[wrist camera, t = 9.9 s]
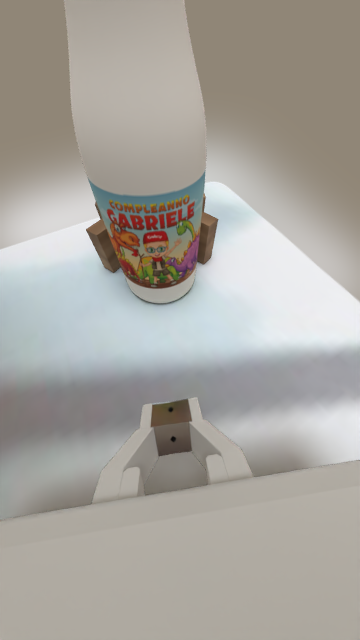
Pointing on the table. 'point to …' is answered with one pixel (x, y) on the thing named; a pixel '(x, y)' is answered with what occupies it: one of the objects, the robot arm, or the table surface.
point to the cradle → (108, 253)
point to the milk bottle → (141, 135)
